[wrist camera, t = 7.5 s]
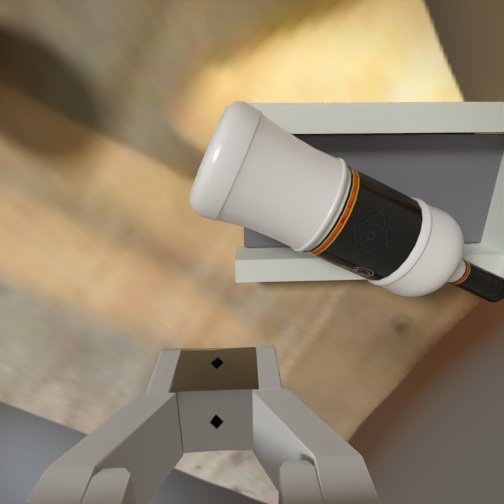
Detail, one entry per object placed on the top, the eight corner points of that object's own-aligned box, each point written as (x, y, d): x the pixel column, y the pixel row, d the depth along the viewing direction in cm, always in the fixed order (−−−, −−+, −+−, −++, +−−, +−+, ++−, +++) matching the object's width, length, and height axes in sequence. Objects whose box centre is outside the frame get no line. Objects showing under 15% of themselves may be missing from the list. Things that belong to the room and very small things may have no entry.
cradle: (231, 107, 31) (230, 102, 27) (534, 105, 32) (584, 100, 28) (236, 267, 37) (235, 286, 32) (492, 261, 38) (528, 279, 33)
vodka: (236, 89, 27) (505, 230, 33) (198, 185, 31) (441, 294, 37) (223, 103, 19) (582, 285, 25) (175, 228, 23) (488, 358, 29)
